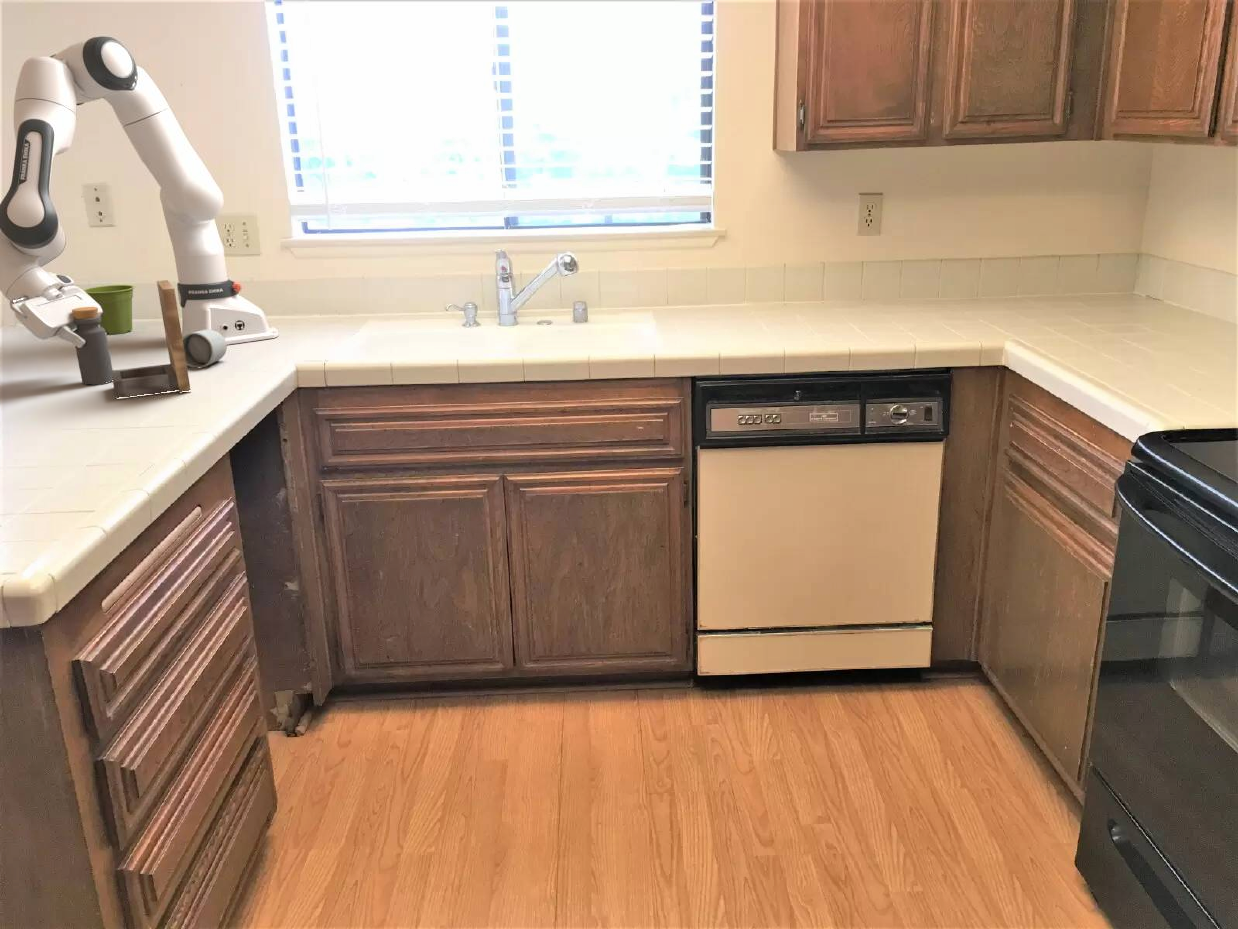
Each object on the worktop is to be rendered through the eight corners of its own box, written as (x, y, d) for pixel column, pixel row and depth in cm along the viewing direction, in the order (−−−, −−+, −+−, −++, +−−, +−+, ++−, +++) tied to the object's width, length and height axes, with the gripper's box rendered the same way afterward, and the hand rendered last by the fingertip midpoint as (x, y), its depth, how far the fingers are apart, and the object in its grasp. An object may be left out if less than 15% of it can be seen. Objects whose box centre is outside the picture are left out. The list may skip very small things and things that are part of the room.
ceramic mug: (231, 359, 223) (225, 325, 220) (215, 368, 215) (209, 332, 212) (185, 361, 223) (179, 326, 221) (167, 369, 215) (161, 334, 213)
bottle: (89, 379, 207) (75, 306, 202) (119, 378, 208) (105, 305, 203) (77, 385, 202) (63, 311, 197) (107, 384, 202) (93, 310, 197)
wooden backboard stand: (183, 377, 206) (167, 280, 200) (190, 392, 195) (174, 288, 188) (113, 386, 201) (95, 285, 194) (117, 401, 189) (97, 295, 183)
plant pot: (81, 334, 256) (73, 289, 253) (126, 326, 266) (118, 283, 262) (107, 338, 250) (98, 293, 246) (151, 330, 259) (144, 286, 256)
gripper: (13, 289, 189) (74, 340, 191) (73, 274, 208) (127, 321, 211) (-5, 313, 190) (56, 363, 193) (56, 296, 210) (110, 342, 212)
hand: (93, 341), depth 202 cm, fingers closed on bottle, 6 cm apart
